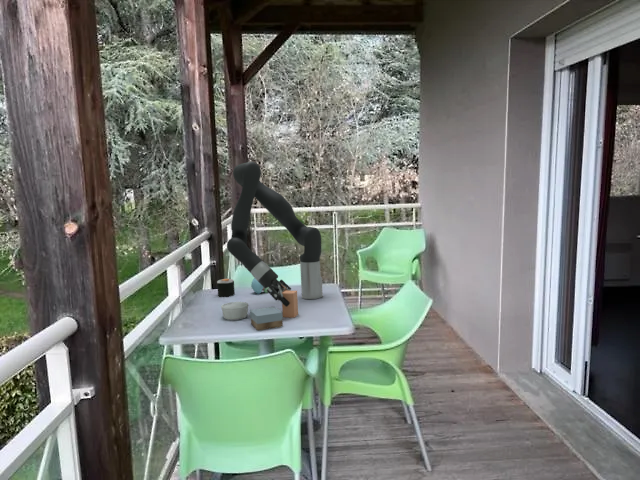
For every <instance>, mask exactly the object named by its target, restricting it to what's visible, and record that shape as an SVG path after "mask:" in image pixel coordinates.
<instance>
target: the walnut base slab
mask: <svg viewBox="0 0 640 480" xmlns="http://www.w3.org/2000/svg"><path fill="white" fill-rule="evenodd" d="M250 322H251V325H252V326H253V327H254V328H255V330H256V331H263V330H267V329H269V328H270V329H274V328H275V327H277V328H282V327H281V326H283V327H284V324H283V323H284V322H283V320H280V321H274V322H267V323H261V324H257V323H256V322H255V321H253V320H252V319H251V318H250ZM275 329H276V328H275Z"/></svg>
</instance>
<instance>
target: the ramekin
mask: <svg viewBox="0 0 640 480" xmlns="http://www.w3.org/2000/svg"><path fill="white" fill-rule="evenodd" d="M221 310H222V315H223V318H224V319H225V320H228V321H237V320H242V319H243V320H244V319H245V318H247V316H248V311H249V303H248V302H245V301H231V302H227V303H223V304H221Z"/></svg>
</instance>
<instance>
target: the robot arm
mask: <svg viewBox="0 0 640 480" xmlns="http://www.w3.org/2000/svg"><path fill="white" fill-rule="evenodd" d="M232 171H233V172H232V175H233V179H234V180H235V181H236V183H237V184H239V185H240V186H241V193H240V195H239V198H238V200H237V203H236V205H235V206H234V209H233V211H232V219H231V223H230V224H231V225H230V227H231V228H230V229H231V237H230V239H229V240H227V243H226V249H227V251H228V252H229V253H230V254H231V255H232V256H233V257H234V258H235V259H236V260H237V261H238V262H240V263H241V264H242V266H243V267H244V268H245V269H246V270H247V272H249V273H250V274H251V275H252V277H253V279H254V278H255V279H256V280H257V281H258V282H259V283H260V284H261V285H262V286H263V287H264V288H265V289H266V288H268V287H269V288H268V289H267V292H268V293H267V294H269V295H270V296H271V297H272V299H274V300H275V301H276V302H279V301H280V302H281V304H282V303H283V304H284V305H285V306H286V307H287V306H288V305H289V304H290V302H289V301H288V300H287V299H286V298H285V297H283V294H282V293H283V292H284V291H286V290H288V291H292V288H291V286H289V285H288V284H287V283H286V282H285V281H284V280H283V279H280V280H278V278H279V275H278V274H277V273H276V272H275V271H274V270H273V269H272V268H271V267H270V266H269V265H268V264H267V263H266V262H264V260H262V259H261V258H260V256H258V255H257V254H256V253H255V252H254V251H252V250H251V249H250V247H248V245H247V244H248V230H249V223H250V219H251V218H250V217H251V211H252V206H253V204H254V199H256V200H257V201H258V202H259V204H261V205H262V206H263V207H264V208H265V209H266V211H268V212H269V214H271V215H272V217H273V218H274V219H276V220H277V221H278V222H279V223H280V224H281V225H282V226H283V227H284V228H285V230H287V231H288V232H289V233H290V235H291V236H292V237H293V238H294V240H295V242H297V243H298V244H299V245H300V246H303V249H304V250H303V252H302V254H300V256H299V266H300V286H301V287H300V288H301V289H300V291H301V299H305V300H315V299H320V298H323V297H324V296H323V295H324V293H323V277H322V276H321V254H322V234H321V232H320V230H319V229H318V228H316V227H315V226H314V227H313V226H307V225H306V224H304V223H303V222H302V221H301V220H300V219H299V218H298V217H297V216H296V214H295V211H294V208H293V206H292V205H291V203H290V202H289V201H288V200H287V199H286V198H285V197H284V196H283V195H282V194H280V193H279V192H278V191H276V190H274V189H272V188H270V187H269V186H267V185H266V184H264V183H263V182H262V181H261V175H262V174H261V173H262V171H261V167H260V165H259V164H257V162H254V161H247V162H244V163H239V164H238V165H236V166H235V167H234V168H233V170H232Z"/></svg>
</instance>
